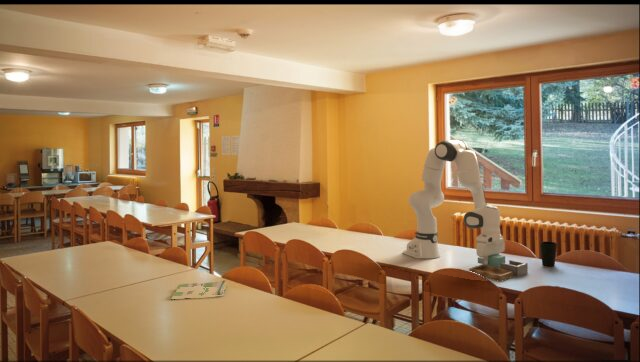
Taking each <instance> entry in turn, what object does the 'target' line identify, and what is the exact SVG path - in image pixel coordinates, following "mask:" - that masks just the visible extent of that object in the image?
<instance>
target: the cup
mask: <svg viewBox="0 0 640 362" xmlns="http://www.w3.org/2000/svg"><path fill="white" fill-rule="evenodd" d="M557 247H558V243H557V242H554V241H540V255H541V265H542V266H543V267H545V268H553V267H555V265H556V255H557Z"/></svg>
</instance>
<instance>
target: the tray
mask: <svg viewBox="0 0 640 362" xmlns="http://www.w3.org/2000/svg"><path fill="white" fill-rule="evenodd" d="M468 270H469V271H472V272H475V273H477V274H480V275H482V276H484V277H483V278H486V277H487V279H490V278H491V280H493V279H494V281H497V280H498V281H497V282H502V280H503V281H505V279H506V280H508V279H511V278H513V276H514V272H513V271H509V270H504V269H500V268H496V267H491V266H487V265H483V264H479V265H475V266H472V267H470V268H468ZM482 276H481V277H482ZM510 277H511V278H510ZM514 277H515V276H514Z"/></svg>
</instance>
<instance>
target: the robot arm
mask: <svg viewBox="0 0 640 362" xmlns="http://www.w3.org/2000/svg"><path fill="white" fill-rule="evenodd" d="M447 162H454V163H455V164H456V171H457V178H458V182H459V184H460V185H461V186H462V187H464V188H466V189H467V190H469V191H470V193H471V195H472V200H473V205H474V209H473V210H470V211H468V212H466V213H465V214H464V216H463V223H464V225H465V226H466V227H467V228H468V229H471V230H476V229H481V233H480V234H479V235H477V236H476V238H475V240H476V244H475V245H476V247H475V248H476V256H477V257H483V259H484V264H489V261H488V259H487V258H488V256H490V255H493V254H497V255H500V253H502V252H505V250H506V243H505V239H504V236H503V234H501V229H500V228H501V226H500V225H501V213H500V210H499V207H497V206H496V205H492V204H487V199H486V194H485V189H484V186H483V182H482V178H481V174H480V173H481V172H480V166H479V162H478V158H477V156H476V153H475V151H473V150H470V149H469V147H468V144H467V143H466V142H465V141H463V140H461V139H449V140H448V139H447V140H441V141H440V142H438V143H437V144H436V145H435V147H433V148H431V149H430V150H429V151H428V153H427V156H426V158H425V161H424V166H423V170H422V174H421V180H422V182H423V184H424V188H423V189H422V190H417V191H415V192H413V193H411V194H410V195H409V197H408V204H409V206H410V207H411V209H413V211H414V213H415V216H416V221H417V222H416V225H417V227H416V228H417V231H416V232H414V233H413V235H415V236H414V238H412V239H411V240H410V241H408V242H407V244H406V249H405V250H403V251H402V254H404V255H406V256H409V257H411V258H415V259H436V258H440V257H441V254H440V250H439V244H438V237H439V235H438V234H439V233H438V227H437V226H438V220H437V217H436V216H434V214H433V211H432V209H433V208H437V207H439V206H441V205H442V204H443V203H444V201H445V194H444V192H443V190H442V179H443V175H444V169H445V167H446V166H445V165H446V163H447Z"/></svg>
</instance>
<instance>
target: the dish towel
mask: <svg viewBox="0 0 640 362" xmlns="http://www.w3.org/2000/svg"><path fill="white" fill-rule="evenodd" d="M225 283H226V284H227V280H226V279H224V280H220V281H213V282H212V281H211V282H204V283H198V282H197V283H196V282H195V283H194V282H193V283H182V284H178V286H177V287H176V289H180V287H194V286H199V285H201V286H203V287H205V288H206V287H217V288H218V289H217V291H216V292H215V293H213V294H212V295H222V294H223V289H224V286H225ZM205 288H203V289H204V290H205ZM208 289H209V288H206V290H205V292H208V291H209V290H208ZM193 292H196V291H194V290H193V291H188V292H175V291H174V292H173V293H172V295H171V296H170V298H171V297H173V296H183V295H185V296H186V294H187V295H188V294H192V293H193ZM205 292H204V293H205ZM204 293H203V292H202V293H199V294H198V295H201V296H202V295H204ZM205 294H206V293H205Z"/></svg>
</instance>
